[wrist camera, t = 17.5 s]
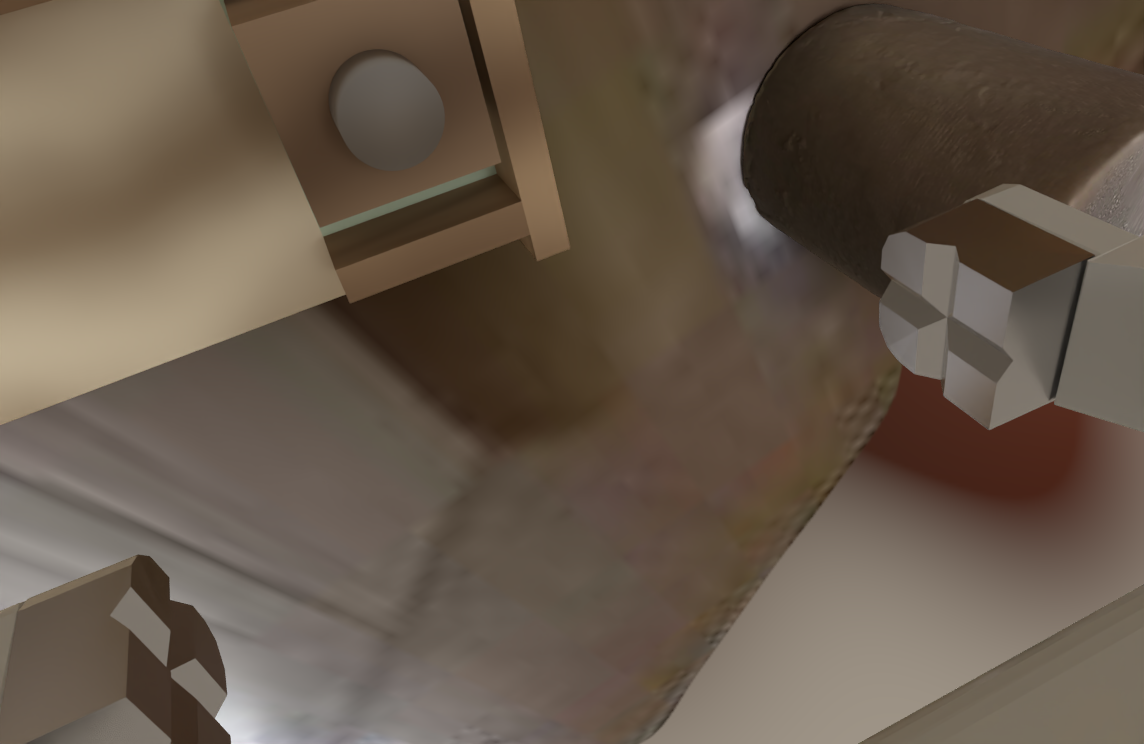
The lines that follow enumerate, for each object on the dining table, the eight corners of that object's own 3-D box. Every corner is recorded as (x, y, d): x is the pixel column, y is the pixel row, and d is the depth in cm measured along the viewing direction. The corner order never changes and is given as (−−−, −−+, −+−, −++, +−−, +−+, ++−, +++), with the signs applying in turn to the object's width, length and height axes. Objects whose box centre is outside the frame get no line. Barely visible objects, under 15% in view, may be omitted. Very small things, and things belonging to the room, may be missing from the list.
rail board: (-676, 115, 18) (-870, 186, 15) (427, -184, 23) (472, -183, 20) (-240, 483, 26) (-303, 587, 22) (524, 198, 30) (570, 248, 27)
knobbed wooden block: (219, -12, 22) (236, 41, 17) (399, -66, 23) (465, -30, 18) (296, 163, 25) (328, 252, 20) (451, 109, 26) (519, 182, 21)
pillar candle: (699, 196, 33) (980, 402, 22) (829, -48, 30) (1243, 49, 19) (851, 257, 39) (1140, 449, 27) (977, 56, 35) (1369, 181, 24)
